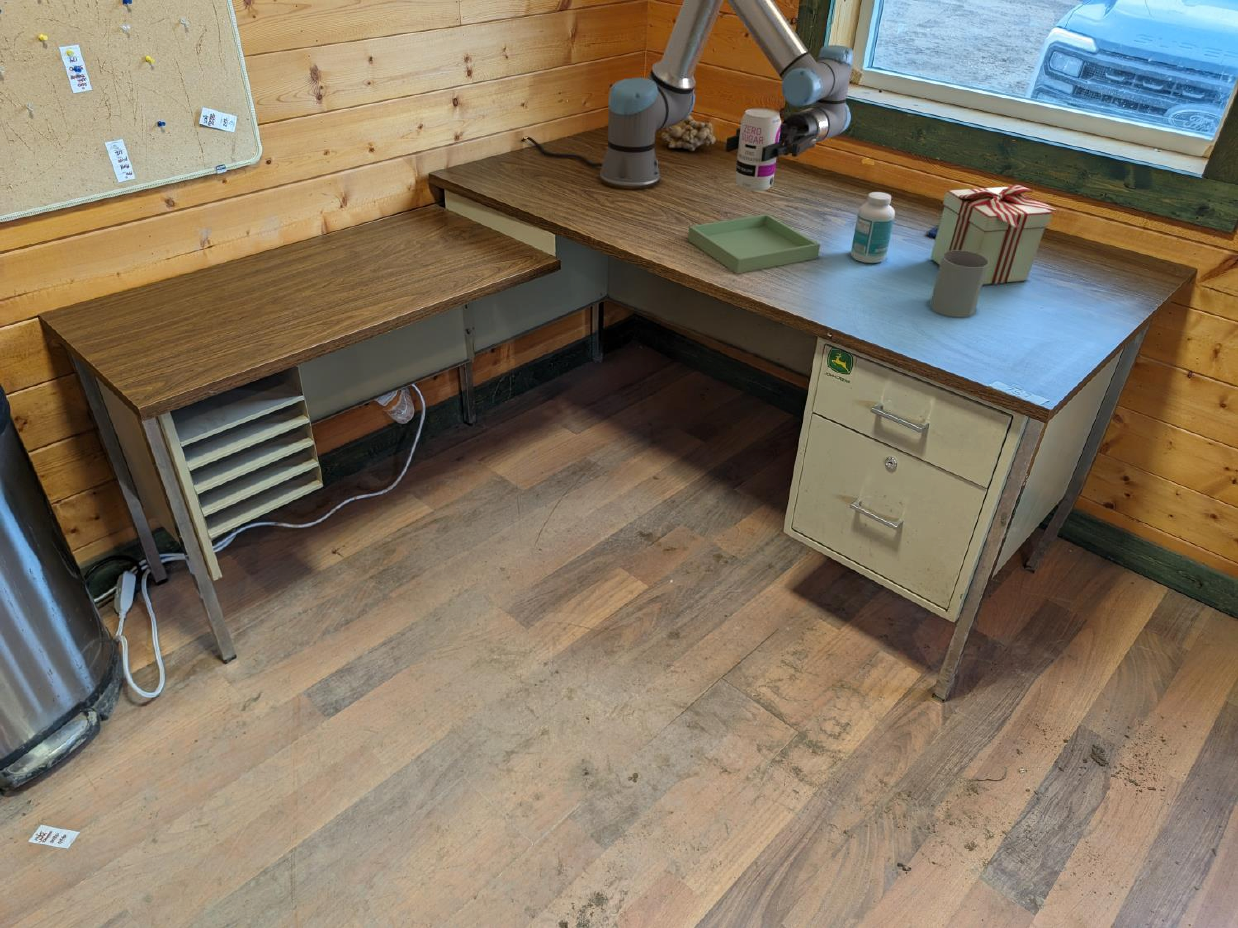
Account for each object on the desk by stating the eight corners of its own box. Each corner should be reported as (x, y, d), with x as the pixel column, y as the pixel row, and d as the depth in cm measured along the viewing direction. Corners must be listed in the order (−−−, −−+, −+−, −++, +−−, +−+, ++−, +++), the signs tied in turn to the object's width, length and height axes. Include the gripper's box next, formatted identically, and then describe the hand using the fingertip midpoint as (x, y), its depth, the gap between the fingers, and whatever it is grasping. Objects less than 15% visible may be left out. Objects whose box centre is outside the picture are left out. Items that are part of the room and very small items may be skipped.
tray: (687, 240, 194) (689, 226, 192) (765, 226, 202) (766, 213, 200) (737, 273, 180) (738, 259, 178) (817, 258, 188) (820, 244, 186)
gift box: (981, 295, 175) (1006, 211, 165) (923, 260, 189) (943, 180, 179) (1048, 285, 181) (1076, 202, 171) (987, 251, 194) (1009, 173, 184)
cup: (923, 298, 173) (935, 250, 168) (963, 298, 174) (977, 250, 168) (939, 317, 167) (953, 268, 161) (981, 317, 167) (996, 268, 162)
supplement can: (771, 180, 193) (780, 109, 184) (773, 193, 187) (783, 119, 178) (734, 178, 194) (742, 106, 185) (734, 190, 187) (742, 117, 178)
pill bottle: (886, 254, 191) (900, 192, 183) (883, 266, 186) (897, 203, 178) (851, 248, 193) (864, 187, 185) (847, 261, 187) (859, 198, 180)
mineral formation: (687, 138, 258) (728, 146, 249) (657, 154, 251) (698, 163, 242) (685, 110, 253) (726, 117, 244) (654, 126, 246) (695, 134, 237)
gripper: (842, 157, 193) (786, 180, 179) (761, 136, 204) (703, 157, 190) (848, 121, 189) (791, 142, 175) (766, 102, 200) (706, 120, 185)
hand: (745, 150), depth 182 cm, fingers closed on supplement can, 8 cm apart
